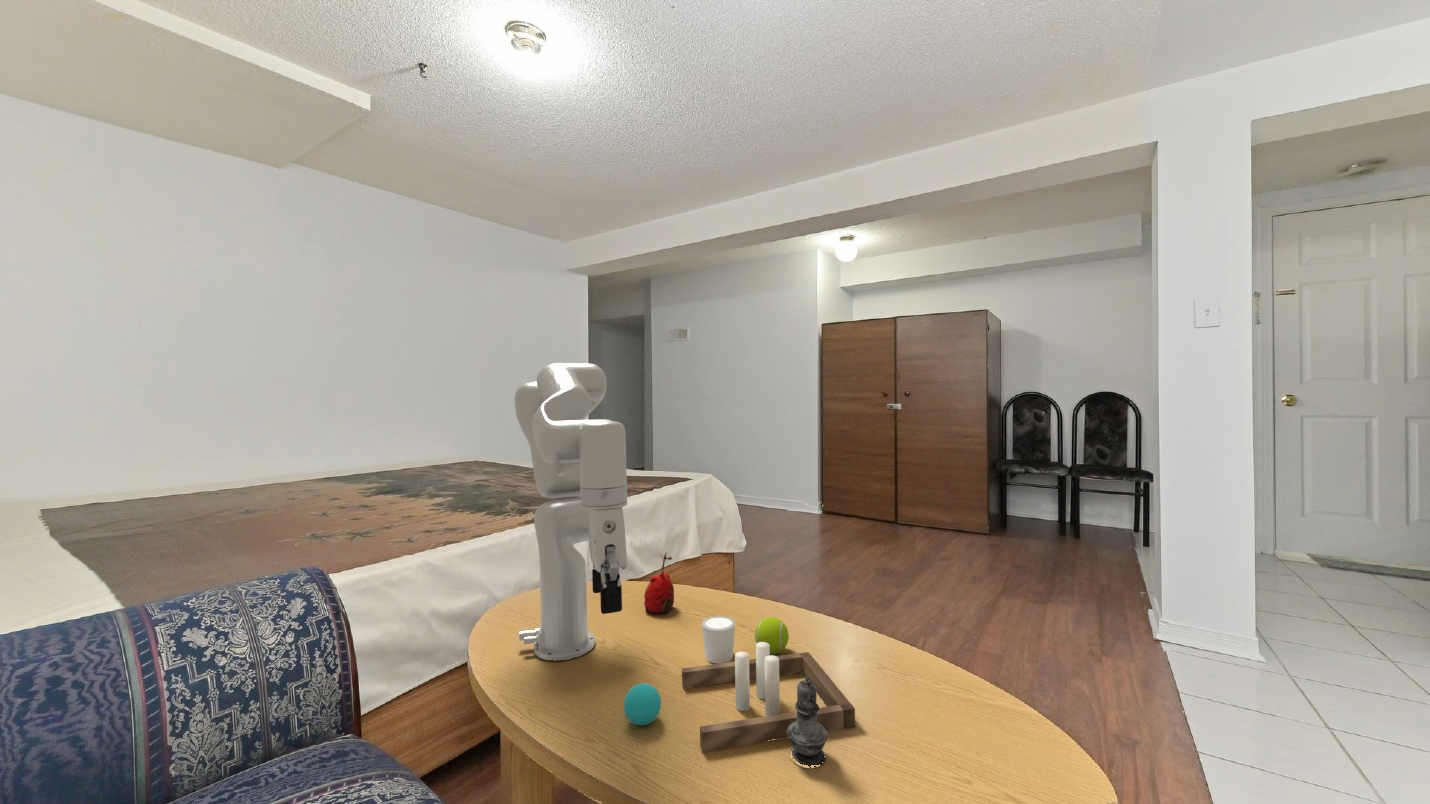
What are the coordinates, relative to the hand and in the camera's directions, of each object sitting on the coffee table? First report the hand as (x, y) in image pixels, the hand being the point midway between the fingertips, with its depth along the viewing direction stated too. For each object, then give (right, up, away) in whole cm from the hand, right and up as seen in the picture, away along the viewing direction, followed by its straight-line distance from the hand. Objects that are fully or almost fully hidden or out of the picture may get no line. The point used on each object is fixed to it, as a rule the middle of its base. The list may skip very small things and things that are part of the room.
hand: (606, 601), depth 86 cm
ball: (+6, -17, 0) cm, 18 cm away
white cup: (+19, -20, +22) cm, 35 cm away
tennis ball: (+29, -19, +23) cm, 42 cm away
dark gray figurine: (+31, -20, -8) cm, 38 cm away
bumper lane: (+26, -20, +5) cm, 33 cm away
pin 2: (+27, -20, +3) cm, 34 cm away
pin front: (+22, -20, +4) cm, 30 cm away
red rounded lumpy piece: (+4, -19, +45) cm, 49 cm away
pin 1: (+26, -20, +7) cm, 34 cm away
